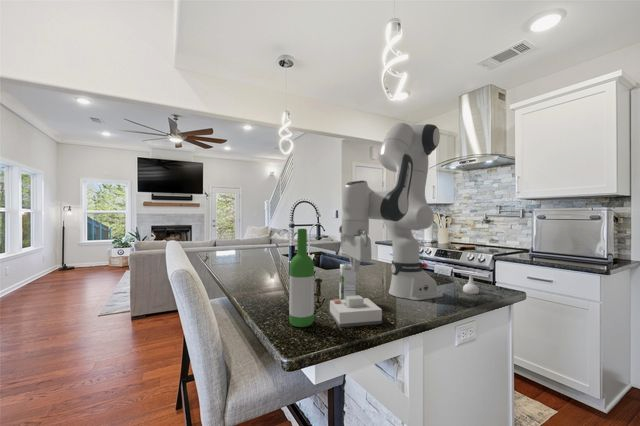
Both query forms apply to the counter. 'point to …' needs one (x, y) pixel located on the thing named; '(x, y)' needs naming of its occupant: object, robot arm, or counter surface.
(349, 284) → the syrup box
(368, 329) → the counter surface
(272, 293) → the counter surface
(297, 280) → the wine bottle
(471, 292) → the garlic bulb
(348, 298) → the plug
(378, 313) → the socket block
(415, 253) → the robot arm
